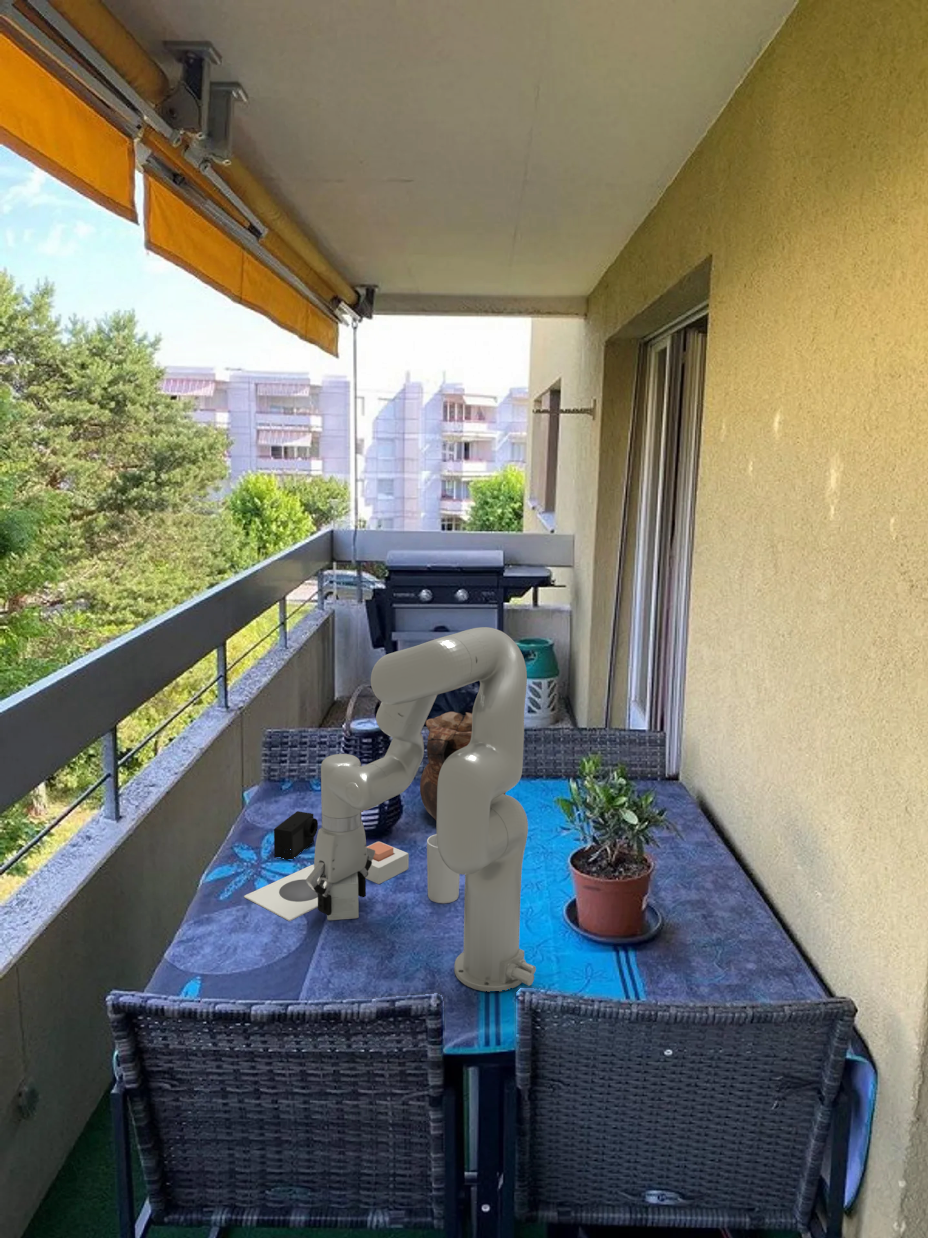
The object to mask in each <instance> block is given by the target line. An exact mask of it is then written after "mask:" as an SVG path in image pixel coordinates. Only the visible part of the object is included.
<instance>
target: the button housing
mask: <svg viewBox="0 0 928 1238" xmlns="http://www.w3.org/2000/svg"><path fill="white" fill-rule="evenodd" d="M377 842H381V843H383V844H386V843H384V842H382V841H379V840H378V841H376V842H374V843H372V844H369V845H366V847H368V846H370V845H373V844H375V843H377ZM386 845H388V846H390V847H393V855H392V856H390V857H388V858H386V859H384V860H381V861H379V862H378V861H376V860H372V865H371V866H370V868H369V870H368V876H367V877H365V878H366V880H369V881H371V882H373V883H375V884H378V885H380V884H382V883H385V882H386V881H388V880H390V879H392V878H393V877H395V876H398V875H399V874H401V873H404V872H406V871H407V870H409V860H410V859H409V853H408V852H406V851H404V850H401V849H399V848H396V847H394V846H391V845H389V844H386Z"/></svg>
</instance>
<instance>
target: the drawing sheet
mask: <svg viewBox="0 0 928 1238" xmlns="http://www.w3.org/2000/svg"><path fill="white" fill-rule="evenodd" d="M313 870H314V864H311V865H309V866H306V867H304V868H302V869H299V870H298V871H296V872H293V873H291V874H289V875H287V876H284V877H282V878H280V879H278V880H275V881H274V882H272V883H269V884H267V885H264V886H263V887H260V888H258V889H256V890H254V891H251V892H249V893H247V894H245V895H243V898H245V899H247V900H248V901H250V902H252V903H254V904H256V905H258V906H259V907H262V908H264V909H265V910H267V911H269V912H271V913H273V914H275V915H277V916H279V917H280V918H282V919H284V920H287V921H288V922H291V921H294V920H295V919H297V918H299V917H301V916H303V915H305V914H307V913H308V912H311V911H313V910H315V909H318V894H317V893H316V892H315V891H313V890H312V889H311V888H310V886H309V885H308V883H307V882H306V879H307V878H308V876H309V875H310V874H311V873H312V871H313ZM319 878H320V877H319ZM319 878H318V880H317V883H318V881H319ZM325 886H326V881H325V882H324V885H323V887H322V888H324V889H325Z"/></svg>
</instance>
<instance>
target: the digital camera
mask: <svg viewBox="0 0 928 1238" xmlns="http://www.w3.org/2000/svg"><path fill="white" fill-rule="evenodd" d="M318 827H319V821H318V820H317V818H316V817H315V818H314V813H311V812H305V811H299V810H298V811H295V812H294V813H292V814H291V815H290V816H289V817H288V818H286V819H285V820H284V821H282V822H281V823H280V824H278V825H277V826H276V827H275V828H274V829H273V842H274V844H273V845H274V851H273V852H274V858H275V857H281V858H284V859H293V860H295V858H294V857H296V856H297V855H298V854H299V853H300V852H301V853H303V852H304V851H305V850H306V849H307V848H308V847H309V845H310V844H311V843H312V844H313V843H314V842H315V836H316V835H317V833H318V830H319V829H318ZM312 844H311V845H312ZM311 845H310V846H311ZM307 846H308V847H307ZM306 847H307V848H306ZM305 848H306V849H305ZM290 849H291V850H290ZM304 849H305V850H304ZM303 850H304V851H303ZM302 851H303V852H302ZM301 853H300V854H301ZM300 854H299V855H300ZM299 855H298V856H299ZM298 856H297V857H298ZM297 857H296V858H297ZM284 859H283V860H284Z"/></svg>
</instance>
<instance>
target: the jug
mask: <svg viewBox="0 0 928 1238" xmlns="http://www.w3.org/2000/svg"><path fill="white" fill-rule="evenodd" d="M472 713H473V712H465V715H463V714H462V713H460V712H456V711H448V712H445V713H442V714H441V715H438V716H435V717H434V718H429V719H428V718H427V719H426V721H425V725H426V726H425V727H426V728H427V730H428V731H429V733H428V735H427V742H426V754H427V760H428V763H427V764H426V766H425V767H424V769H423V771H422V773H421V776H420V781H419V794H420V798H421V801H422V805H423V807H424V808H425V810H426V812H427V813H428V814H429V815H430V816H431V817H432V818H433V819H434V820H435V821H436V822H437V786H438V777H439V773H440V770H441V767H442V765H443V763H444V762H445V760H446V759H447V758H448V757H449V756H450V755H451V754H453V753H454V752H456V751H457V750H459V749H461V748H463V747H465V746H467V745H468V744H469V743H470V740H471V735H472ZM506 793H507V792H505V793H504V795H506Z"/></svg>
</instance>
